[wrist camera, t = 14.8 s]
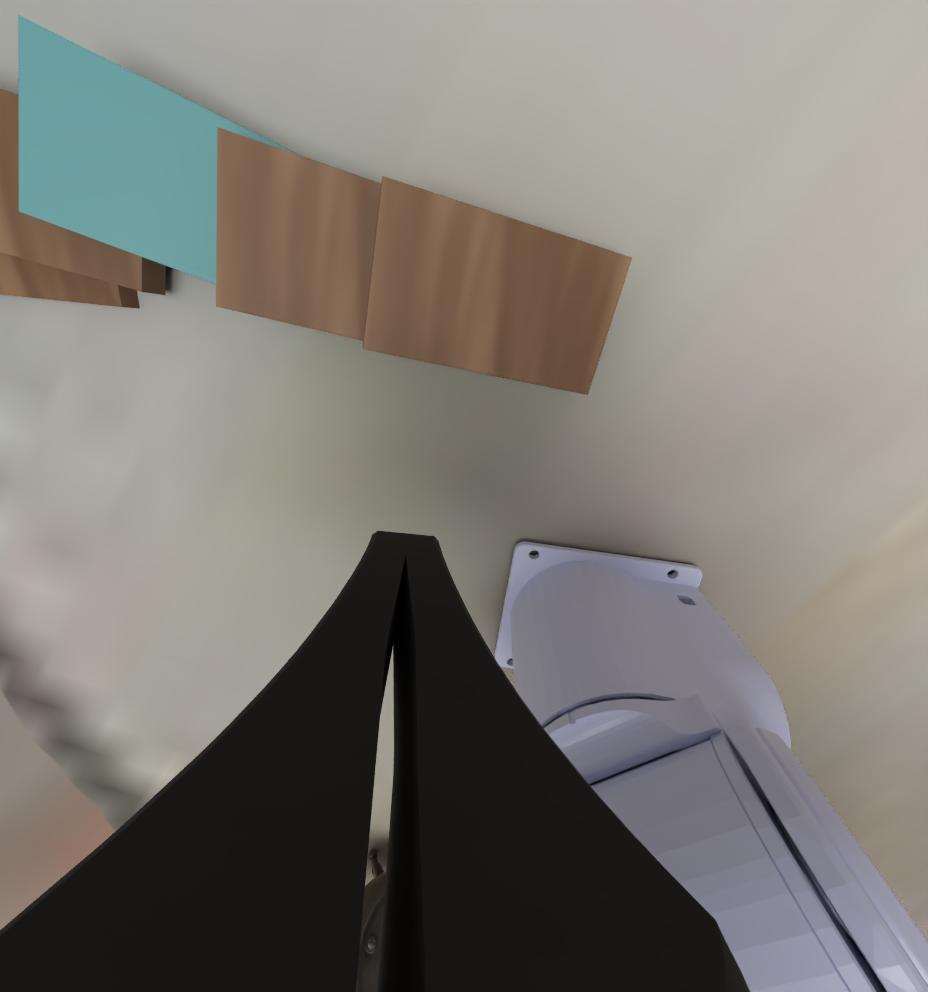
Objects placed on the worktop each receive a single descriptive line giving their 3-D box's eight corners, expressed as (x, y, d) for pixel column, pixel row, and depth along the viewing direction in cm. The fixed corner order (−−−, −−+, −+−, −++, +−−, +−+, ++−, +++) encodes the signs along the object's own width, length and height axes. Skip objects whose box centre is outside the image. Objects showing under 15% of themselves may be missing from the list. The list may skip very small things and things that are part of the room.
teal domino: (341, 176, 15) (18, 15, 11) (310, 318, 16) (18, 211, 13) (343, 188, 16) (55, 46, 13) (314, 318, 18) (51, 220, 14)
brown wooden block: (631, 257, 15) (382, 176, 12) (587, 394, 17) (363, 349, 14) (608, 261, 16) (380, 189, 14) (570, 387, 18) (362, 345, 15)
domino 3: (495, 223, 15) (217, 126, 12) (464, 363, 17) (216, 306, 14) (484, 230, 16) (232, 145, 14) (456, 359, 18) (229, 306, 15)
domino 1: (141, 137, 14) (-187, 24, 12) (141, 291, 16) (-149, 210, 14) (168, 156, 16) (-123, 56, 14) (165, 295, 17) (-95, 222, 16)
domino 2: (94, 162, 15) (-131, 141, 16) (121, 306, 17) (-80, 285, 18) (129, 178, 17) (-78, 159, 17) (151, 309, 19) (-35, 289, 19)
